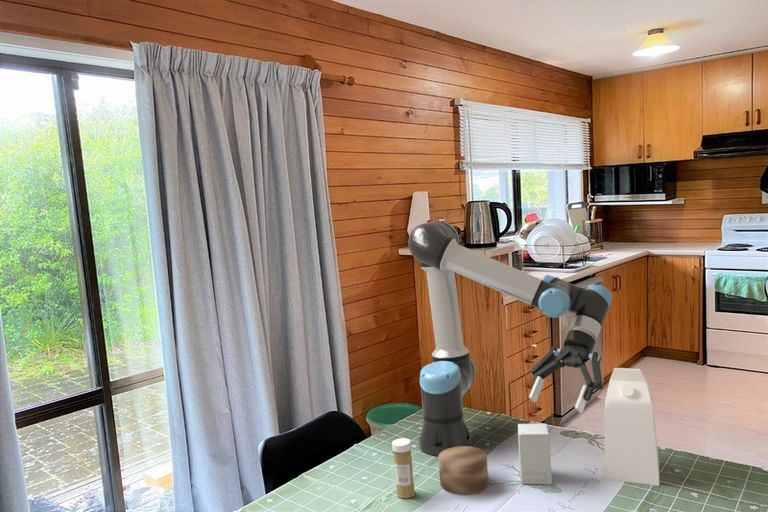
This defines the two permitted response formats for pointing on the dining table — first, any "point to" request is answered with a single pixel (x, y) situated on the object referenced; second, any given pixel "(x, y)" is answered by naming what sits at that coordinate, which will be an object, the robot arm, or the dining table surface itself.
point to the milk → (630, 429)
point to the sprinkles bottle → (403, 468)
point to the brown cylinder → (463, 470)
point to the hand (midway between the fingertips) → (554, 405)
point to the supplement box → (534, 454)
